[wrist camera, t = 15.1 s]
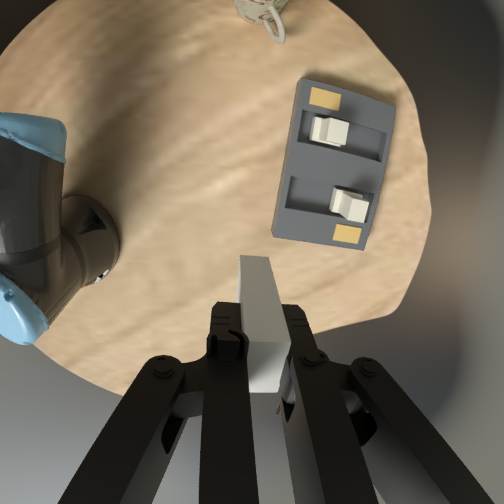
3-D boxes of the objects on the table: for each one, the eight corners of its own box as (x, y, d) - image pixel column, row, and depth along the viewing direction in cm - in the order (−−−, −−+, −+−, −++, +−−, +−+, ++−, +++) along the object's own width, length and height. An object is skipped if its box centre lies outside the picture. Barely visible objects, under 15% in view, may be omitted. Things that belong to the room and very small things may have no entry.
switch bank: (271, 230, 41) (273, 237, 38) (297, 82, 32) (301, 77, 30) (356, 243, 42) (364, 251, 39) (386, 108, 34) (396, 107, 31)
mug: (273, -17, 25) (281, -51, 16) (308, 45, 30) (327, 21, 21) (220, -2, 27) (214, -36, 17) (253, 61, 31) (256, 37, 22)
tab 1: (309, 139, 34) (319, 140, 29) (312, 117, 33) (324, 114, 28) (336, 146, 35) (351, 148, 30) (340, 124, 34) (355, 123, 28)
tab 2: (328, 209, 38) (341, 220, 33) (333, 187, 37) (347, 195, 32) (353, 213, 39) (368, 225, 34) (358, 192, 37) (374, 201, 32)
